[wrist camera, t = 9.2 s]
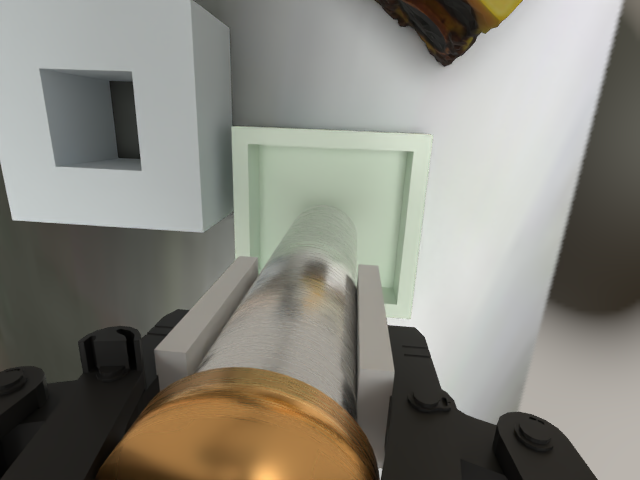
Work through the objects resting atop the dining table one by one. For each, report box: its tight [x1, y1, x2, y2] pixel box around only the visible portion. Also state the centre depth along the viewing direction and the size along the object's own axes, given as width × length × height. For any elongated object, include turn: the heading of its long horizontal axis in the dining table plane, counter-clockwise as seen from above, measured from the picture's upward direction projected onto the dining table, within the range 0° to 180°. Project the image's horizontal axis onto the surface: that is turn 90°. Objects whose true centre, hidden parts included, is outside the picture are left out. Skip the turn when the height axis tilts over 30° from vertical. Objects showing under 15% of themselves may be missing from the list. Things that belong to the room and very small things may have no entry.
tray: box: [231, 126, 433, 319], centre depth 26 cm, size 12×12×3 cm
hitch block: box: [0, 0, 234, 232], centre depth 24 cm, size 12×12×6 cm
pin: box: [95, 205, 380, 480], centre depth 14 cm, size 5×5×17 cm
